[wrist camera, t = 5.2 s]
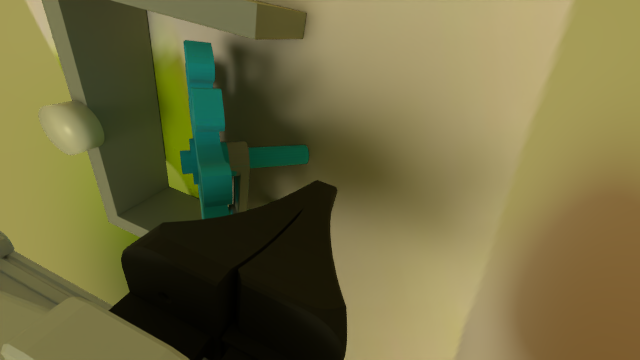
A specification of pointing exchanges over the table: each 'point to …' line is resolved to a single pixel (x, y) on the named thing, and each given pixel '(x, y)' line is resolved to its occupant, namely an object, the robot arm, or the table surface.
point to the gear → (221, 157)
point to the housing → (134, 95)
